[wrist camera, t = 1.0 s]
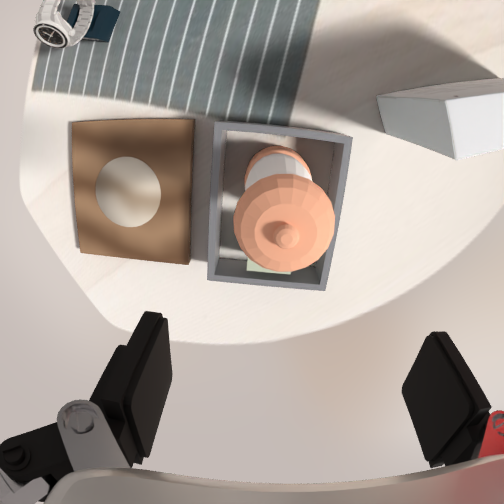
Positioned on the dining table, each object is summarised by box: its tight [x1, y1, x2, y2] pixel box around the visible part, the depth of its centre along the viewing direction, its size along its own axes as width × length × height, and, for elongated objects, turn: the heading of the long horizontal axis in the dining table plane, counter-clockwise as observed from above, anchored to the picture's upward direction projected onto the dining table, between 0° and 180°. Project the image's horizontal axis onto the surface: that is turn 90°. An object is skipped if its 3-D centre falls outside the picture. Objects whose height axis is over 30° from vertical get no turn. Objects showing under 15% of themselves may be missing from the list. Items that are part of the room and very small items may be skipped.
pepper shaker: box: [233, 146, 335, 272], centre depth 29 cm, size 7×7×19 cm
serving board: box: [72, 119, 195, 265], centre depth 38 cm, size 18×16×1 cm
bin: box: [207, 121, 353, 291], centre depth 36 cm, size 18×14×4 cm
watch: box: [33, 0, 120, 49], centre depth 24 cm, size 6×8×11 cm
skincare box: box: [376, 78, 504, 160], centre depth 25 cm, size 21×5×16 cm, turn 109°
